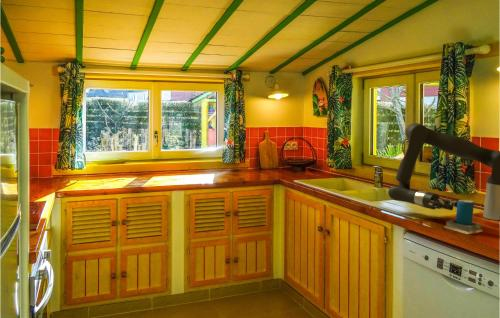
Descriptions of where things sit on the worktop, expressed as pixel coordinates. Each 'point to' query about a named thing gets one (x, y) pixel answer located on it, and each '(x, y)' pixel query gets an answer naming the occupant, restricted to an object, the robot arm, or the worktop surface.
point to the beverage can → (464, 212)
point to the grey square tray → (463, 227)
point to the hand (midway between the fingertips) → (458, 207)
